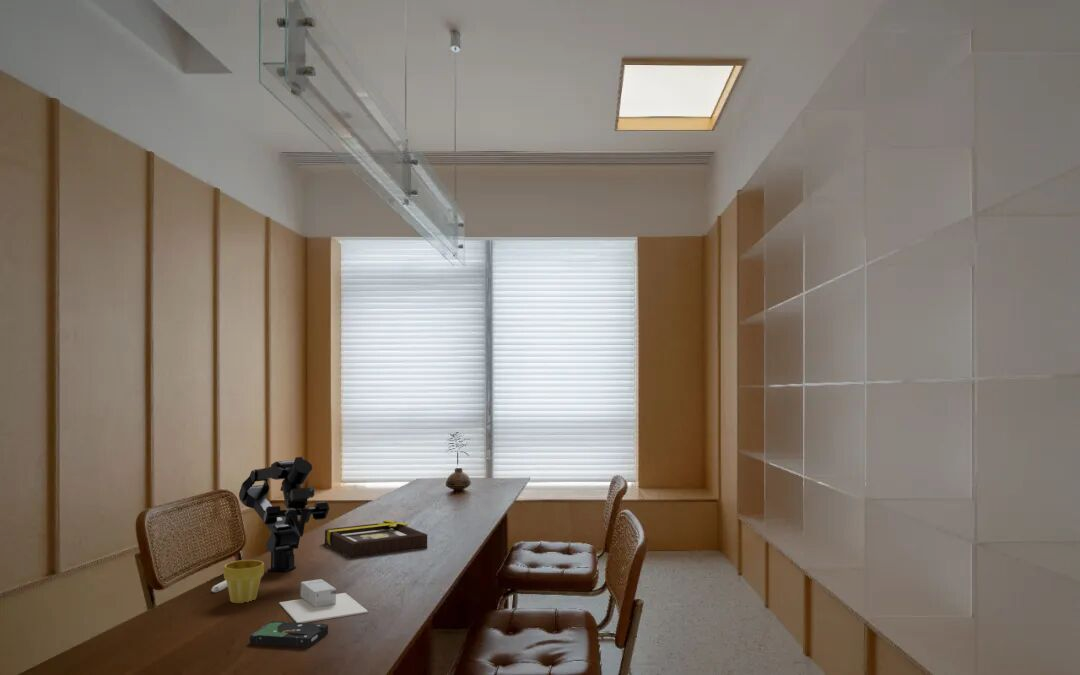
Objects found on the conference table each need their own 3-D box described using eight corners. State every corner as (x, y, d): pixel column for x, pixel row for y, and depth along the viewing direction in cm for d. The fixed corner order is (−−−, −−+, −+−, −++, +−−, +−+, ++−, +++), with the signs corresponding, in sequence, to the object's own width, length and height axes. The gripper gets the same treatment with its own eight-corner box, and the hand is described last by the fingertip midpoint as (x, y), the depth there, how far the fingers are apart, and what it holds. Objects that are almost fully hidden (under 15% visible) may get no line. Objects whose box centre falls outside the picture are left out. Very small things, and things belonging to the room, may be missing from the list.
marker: (215, 594, 219) (215, 586, 219) (208, 594, 219) (208, 586, 219) (247, 578, 237) (247, 570, 237) (240, 578, 237) (241, 570, 237)
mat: (279, 603, 209) (279, 602, 209) (345, 594, 218) (345, 592, 218) (297, 623, 192) (297, 622, 192) (368, 612, 201) (368, 611, 201)
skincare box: (300, 597, 214) (313, 609, 204) (300, 580, 214) (313, 592, 204) (322, 593, 217) (336, 605, 207) (322, 577, 218) (336, 588, 207)
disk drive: (328, 635, 185) (270, 631, 188) (328, 623, 185) (271, 620, 188) (309, 650, 175) (248, 646, 177) (309, 638, 175) (248, 634, 177)
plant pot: (259, 604, 209) (260, 567, 209) (219, 606, 207) (219, 569, 207) (266, 594, 219) (267, 558, 219) (228, 595, 217) (228, 560, 218)
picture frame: (323, 526, 286) (399, 518, 303) (323, 544, 286) (398, 535, 302) (350, 540, 263) (430, 530, 279) (350, 560, 262) (430, 549, 279)
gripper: (266, 479, 233) (273, 522, 223) (328, 475, 243) (338, 516, 233) (260, 502, 239) (267, 545, 229) (321, 497, 249) (330, 538, 239)
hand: (301, 535), depth 232 cm, fingers closed
